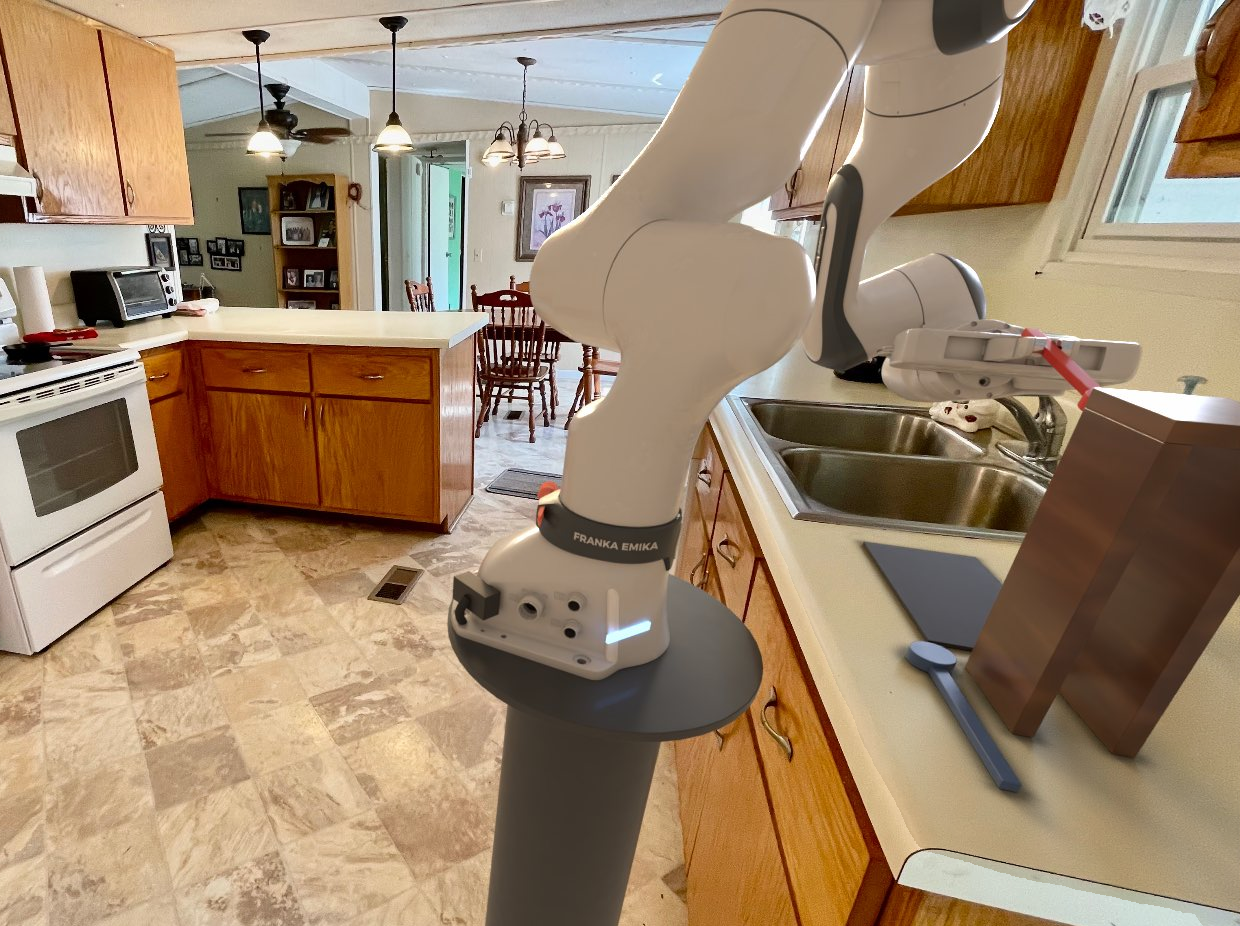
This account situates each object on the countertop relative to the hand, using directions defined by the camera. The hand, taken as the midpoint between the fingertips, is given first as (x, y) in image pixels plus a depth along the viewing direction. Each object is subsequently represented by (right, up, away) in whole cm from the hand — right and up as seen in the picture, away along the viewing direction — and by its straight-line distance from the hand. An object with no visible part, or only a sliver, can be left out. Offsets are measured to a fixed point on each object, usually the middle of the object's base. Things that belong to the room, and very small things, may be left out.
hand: (1053, 347), depth 61 cm
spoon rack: (-7, -32, -6) cm, 33 cm away
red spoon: (-1, -3, -2) cm, 4 cm away
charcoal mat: (-1, -25, +10) cm, 27 cm away
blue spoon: (-14, -32, -7) cm, 36 cm away
